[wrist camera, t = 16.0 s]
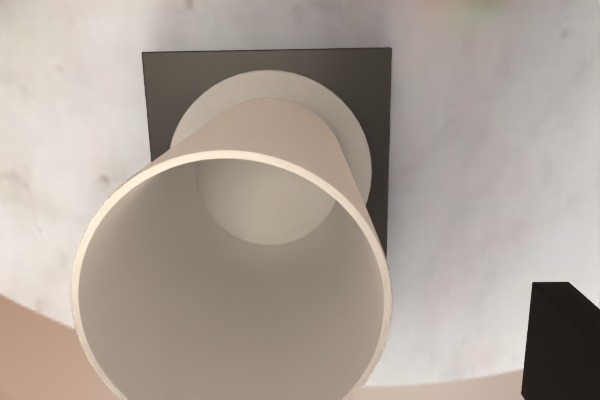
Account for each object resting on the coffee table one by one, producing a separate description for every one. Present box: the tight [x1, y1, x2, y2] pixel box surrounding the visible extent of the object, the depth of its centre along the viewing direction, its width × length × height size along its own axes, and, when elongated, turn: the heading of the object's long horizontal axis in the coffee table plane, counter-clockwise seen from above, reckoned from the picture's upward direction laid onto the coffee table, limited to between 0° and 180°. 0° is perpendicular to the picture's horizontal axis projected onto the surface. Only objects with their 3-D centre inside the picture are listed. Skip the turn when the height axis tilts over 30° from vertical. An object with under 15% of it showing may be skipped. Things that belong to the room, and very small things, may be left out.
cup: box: [71, 97, 392, 400], centre depth 21 cm, size 8×8×16 cm
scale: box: [142, 47, 392, 258], centre depth 31 cm, size 13×15×3 cm
